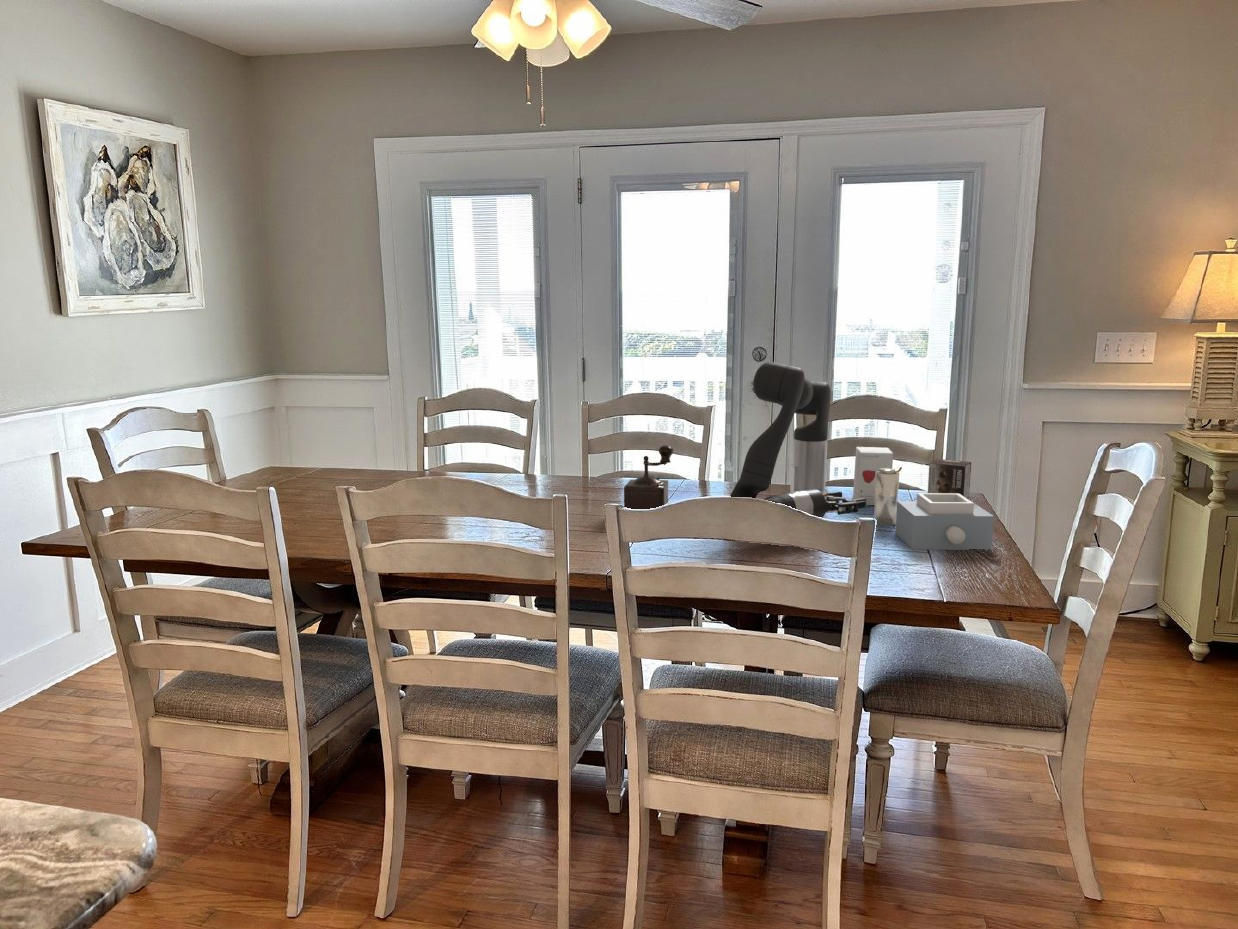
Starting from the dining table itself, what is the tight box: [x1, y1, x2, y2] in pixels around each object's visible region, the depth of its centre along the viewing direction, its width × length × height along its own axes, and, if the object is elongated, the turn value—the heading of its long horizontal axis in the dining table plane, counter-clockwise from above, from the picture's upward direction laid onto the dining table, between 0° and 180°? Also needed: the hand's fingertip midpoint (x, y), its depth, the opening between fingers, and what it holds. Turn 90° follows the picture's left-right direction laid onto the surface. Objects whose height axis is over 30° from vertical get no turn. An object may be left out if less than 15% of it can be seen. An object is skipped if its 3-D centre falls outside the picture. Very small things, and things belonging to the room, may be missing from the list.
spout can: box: [873, 465, 903, 526], centre depth 233 cm, size 7×6×14 cm
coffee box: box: [927, 458, 972, 500], centre depth 231 cm, size 9×6×16 cm
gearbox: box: [894, 492, 995, 551], centre depth 215 cm, size 18×17×10 cm
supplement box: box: [852, 446, 894, 506], centre depth 254 cm, size 9×9×15 cm
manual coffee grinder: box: [623, 445, 674, 509], centre depth 238 cm, size 16×11×18 cm
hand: (853, 499), depth 227 cm, fingers open, 8 cm apart
